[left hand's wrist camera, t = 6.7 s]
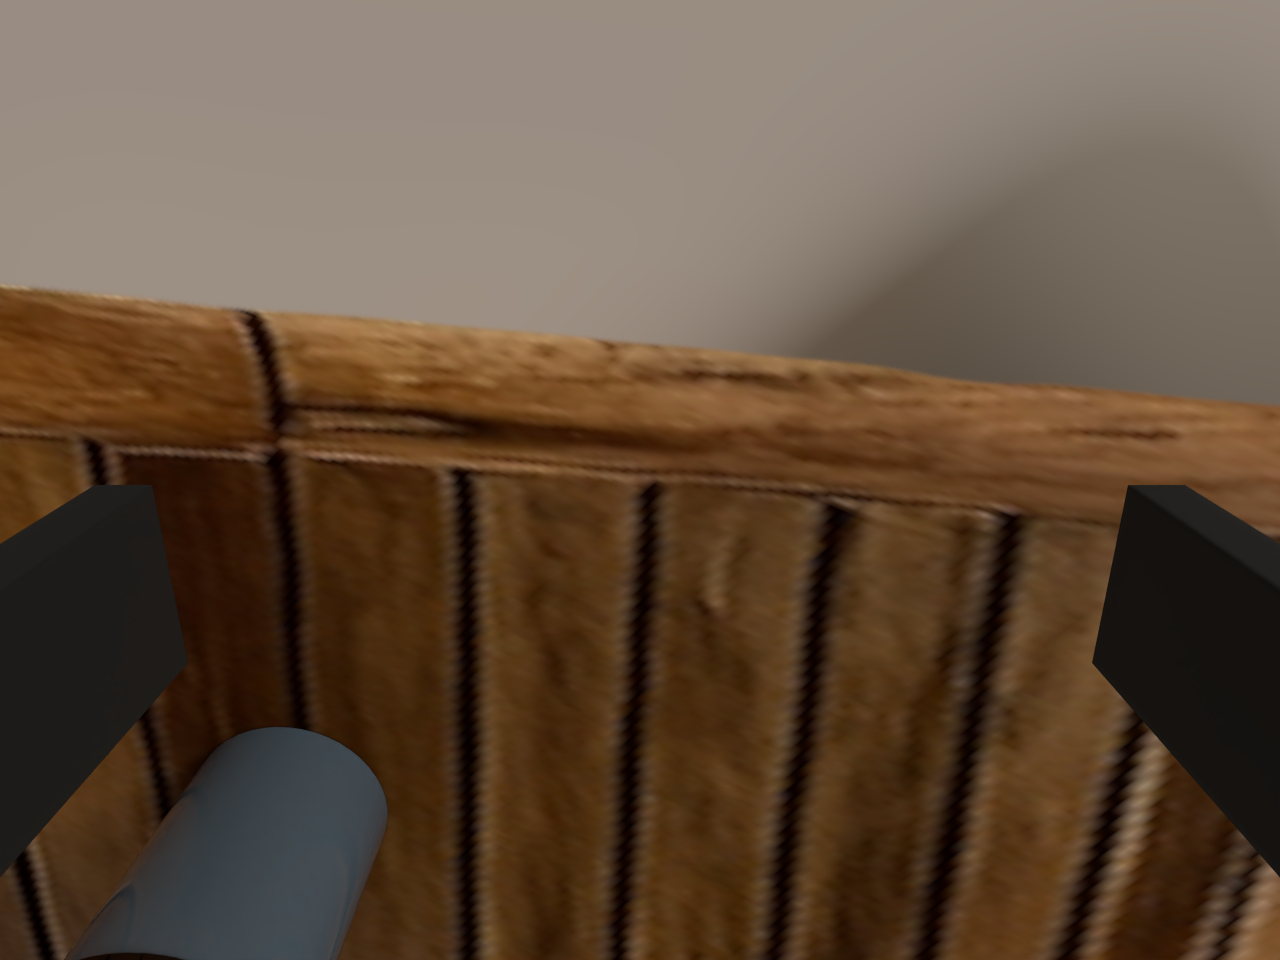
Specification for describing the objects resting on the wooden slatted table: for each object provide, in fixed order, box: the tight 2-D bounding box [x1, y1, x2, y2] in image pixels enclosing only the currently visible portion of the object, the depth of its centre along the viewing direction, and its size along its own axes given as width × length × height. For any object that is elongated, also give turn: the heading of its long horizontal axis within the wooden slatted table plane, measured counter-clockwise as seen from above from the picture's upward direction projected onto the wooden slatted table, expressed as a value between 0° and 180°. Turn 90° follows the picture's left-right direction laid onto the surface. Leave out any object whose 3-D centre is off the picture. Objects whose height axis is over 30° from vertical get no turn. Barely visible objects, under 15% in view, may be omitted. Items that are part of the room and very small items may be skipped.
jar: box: [64, 727, 388, 960], centre depth 41 cm, size 10×10×16 cm
